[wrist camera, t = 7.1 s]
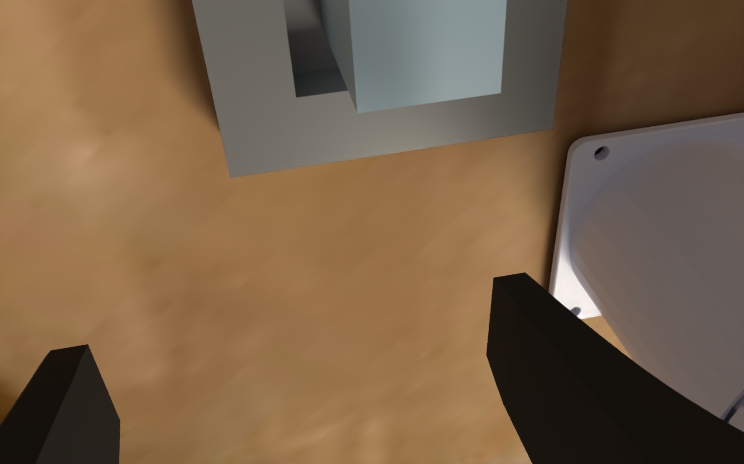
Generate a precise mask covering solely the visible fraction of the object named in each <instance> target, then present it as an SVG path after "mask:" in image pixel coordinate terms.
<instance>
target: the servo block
mask: <svg viewBox="0 0 744 464" xmlns="http://www.w3.org/2000/svg"><path fill="white" fill-rule="evenodd" d="M320 3H321V13H322V23H323V30H324V32H325V35H326V37H327V40H328V42H329V45H330V47H331V50H332V52H333V54H334V57H335V59H336V62H337V64H338V67H339V69H340V72H341V74H342V77H343V79H344V82H345V84H346V87H347V89H348V91H349V94H350V96H351V99H352V101H353V104H354V106H355V109H356V111H357V113H364V112H371V111H378V110H385V109H392V108H399V107H406V106H413V105H420V104H427V103H434V102H441V101H448V100H456V99H463V98H470V97H477V96H484V95H491V94H498V93H501V81H502V65H503V50H504V34H505V19H506V3H507V0H320Z"/></svg>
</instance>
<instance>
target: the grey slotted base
mask: <svg viewBox="0 0 744 464" xmlns="http://www.w3.org/2000/svg"><path fill="white" fill-rule="evenodd" d="M192 4H193V8H194V13H195V18H196V22H197V27H198V31H199V36H200V41H201V45H202V50H203V54H204V59H205V64H206V68H207V73H208V77H209V82H210V87H211V91H212V96H213V100H214V105H215V110H216V114H217V119H218V123H219V128H220V132H221V137H222V142H223V146H224V151H225V155H226V160H227V165H228V169H229V174H230V178H232V177H239V176H245V175H252V174H258V173H265V172H272V171H278V170H285V169H292V168H298V167H305V166H311V165H318V164H325V163H331V162H338V161H345V160H351V159H358V158H364V157H371V156H378V155H384V154H391V153H397V152H404V151H411V150H417V149H424V148H431V147H437V146H444V145H450V144H457V143H464V142H470V141H477V140H484V139H490V138H497V137H503V136H510V135H517V134H523V133H530V132H536V131H543V130H550V129H553V122H554V113H555V105H556V96H557V88H558V80H559V71H560V63H561V55H562V46H563V38H564V29H565V21H566V13H567V4H568V0H507V3H506V19H505V34H504V50H503V65H502V81H501V93H498V94H491V95H484V96H477V97H470V98H463V99H456V100H448V101H441V102H434V103H427V104H420V105H413V106H406V107H399V108H392V109H385V110H378V111H371V112H364V113H357V111H356V109H355V106H354V104H353V101H352V99H351V96H350V94H349V91H348V89H347V87H346V84H345V82H344V79H343V77H342V74H341V72H340V69H339V67H338V64H337V62H336V59H335V57H334V54H333V52H332V50H331V47H330V45H329V42H328V40H327V37H326V35H325V32H324V30H323V23H322V13H321V3H320V0H192Z"/></svg>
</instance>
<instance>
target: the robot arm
mask: <svg viewBox="0 0 744 464" xmlns="http://www.w3.org/2000/svg"><path fill="white" fill-rule="evenodd" d="M602 146H604V147H603V149H602V151H601V152H600V153H598V154H596V155H594V154H595V151H596V150H597V149H598V148H600V147H602ZM572 308H573V309H572ZM570 309H571V310H570ZM600 315H602V316H603V317H604V319H605V320H606V322H607V323H608V325H609V326H610V328H611V329H612V330H613V332H614V333H615V335H616V336H617V338H618V339H619V341H620V342H621V344H622V345H623V346H624V348H625V349H626V351H627V352H628V354H629V355H630V357H631V358H632V359H633V360H631V359H630V358H629V357H627V356H626V355H625V354H623V353H622V352H621V351H619V350H618V349H617V348H616V347H614V346H613V345H612V344H611V343H609V342H608V341H607V340H605V339H604V338H603V337H602V336H600V335H599V334H598V333H597V332H595V331H594V330H593V329H592V328H590V327H589V326H588V325H587V324H586V323H584V322H583V321H582V320H581V319H584V318H590V317H595V316H600ZM486 355H487V358H488V361H489V364H490V367H491V370H492V373H493V376H494V379H495V382H496V385H497V388H498V390H499V393H500V396H501V399H502V402H503V404H504V406H505V408H506V410H507V413H508V415H509V417H510V419H511V421H512V423H513V425H514V427H515V429H516V431H517V433H518V435H519V437H520V439H521V441H522V443H523V446H524V448H525V450H526V452H527V454H528V456H529V458H530V460H531V462H532V464H744V112H743V113H737V114H730V115H724V116H717V117H711V118H704V119H698V120H691V121H685V122H678V123H672V124H665V125H659V126H652V127H646V128H639V129H633V130H626V131H619V132H613V133H606V134H600V135H593V136H587V137H583V138H580V139H578V140H576V141H575V142H573V144H572V145H571V146H570V148H569V151H568V155H567V162H566V169H565V176H564V184H563V191H562V198H561V205H560V212H559V220H558V227H557V234H556V241H555V249H554V256H553V263H552V270H551V278H550V285H549V292H548V291H546V290H545V289H544V288H543V287H542V286H541V285H539V284H538V283H537V282H536V281H535V280H534V279H532V278H531V277H530V276H529V275H528V274H526V273H519V274H513V275H507V276H501V277H495V278H494V279H493V290H492V300H491V311H490V322H489V332H488V343H487V354H486ZM119 449H120V419H119V417H118V415H117V412H116V410H115V408H114V405H113V403H112V400H111V398H110V396H109V393H108V391H107V388H106V386H105V384H104V381H103V379H102V377H101V374H100V372H99V369H98V367H97V365H96V362H95V360H94V358H93V355H92V353H91V350H90V348H89V346H88V344H87V345H81V346H75V347H69V348H63V349H57V350H51V351H50V352H49V353H48V354H47V356H46V357H45V358H44V360H43V361H42V363H41V364H40V366H39V367H38V369H37V370H36V372H35V374H34V375H33V377H32V378H31V380H30V381H29V383H28V384H27V386H26V387H25V389H24V390H23V392H22V393H21V395H20V396H19V398H18V399H17V401H16V402H15V404H14V405H13V407H12V408H11V410H10V411H9V413H8V414H7V416H6V417H5V419H4V420H3V422H2V423H1V425H0V464H119Z"/></svg>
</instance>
